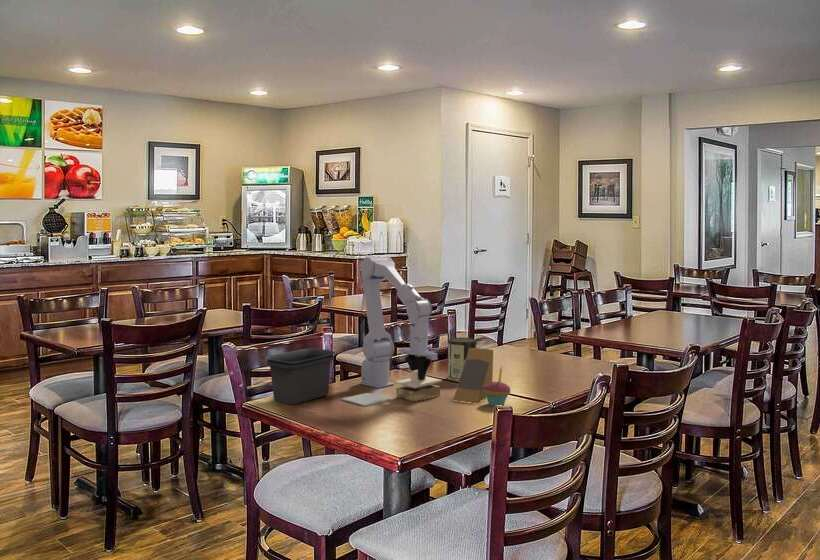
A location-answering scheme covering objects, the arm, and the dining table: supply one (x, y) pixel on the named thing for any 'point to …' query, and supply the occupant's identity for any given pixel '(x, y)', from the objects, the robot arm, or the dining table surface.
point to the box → (418, 392)
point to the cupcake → (496, 391)
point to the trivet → (366, 399)
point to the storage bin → (300, 374)
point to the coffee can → (458, 355)
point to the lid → (417, 381)
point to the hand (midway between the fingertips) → (418, 378)
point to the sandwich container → (475, 375)
